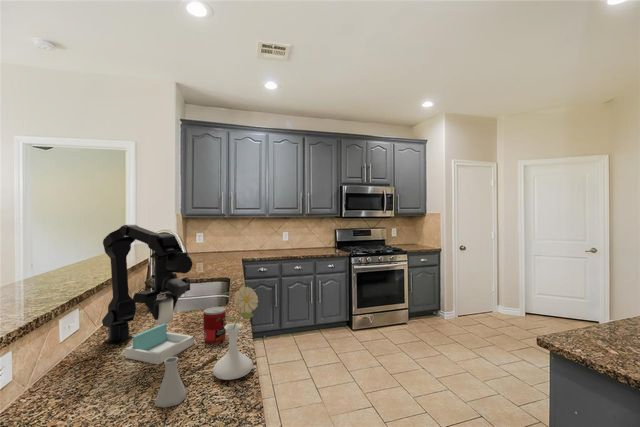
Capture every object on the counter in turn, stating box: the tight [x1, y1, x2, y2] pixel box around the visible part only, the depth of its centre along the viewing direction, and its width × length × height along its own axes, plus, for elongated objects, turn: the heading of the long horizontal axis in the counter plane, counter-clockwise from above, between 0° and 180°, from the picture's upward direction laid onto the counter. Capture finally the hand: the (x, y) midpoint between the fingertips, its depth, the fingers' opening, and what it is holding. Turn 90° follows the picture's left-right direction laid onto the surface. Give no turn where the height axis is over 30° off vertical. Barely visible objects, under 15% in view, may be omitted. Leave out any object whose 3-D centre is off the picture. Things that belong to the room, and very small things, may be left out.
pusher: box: [132, 323, 168, 350], centre depth 102 cm, size 1×12×6 cm, turn 161°
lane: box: [125, 331, 194, 365], centre depth 101 cm, size 17×15×3 cm
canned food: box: [203, 306, 227, 344], centre depth 110 cm, size 8×8×11 cm
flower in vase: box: [212, 286, 259, 381], centre depth 86 cm, size 13×11×25 cm
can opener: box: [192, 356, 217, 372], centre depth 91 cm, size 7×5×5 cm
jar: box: [154, 296, 174, 325], centre depth 100 cm, size 6×6×8 cm
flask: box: [154, 356, 187, 408], centre depth 74 cm, size 7×7×10 cm
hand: (163, 316), depth 100 cm, fingers closed on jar, 6 cm apart
